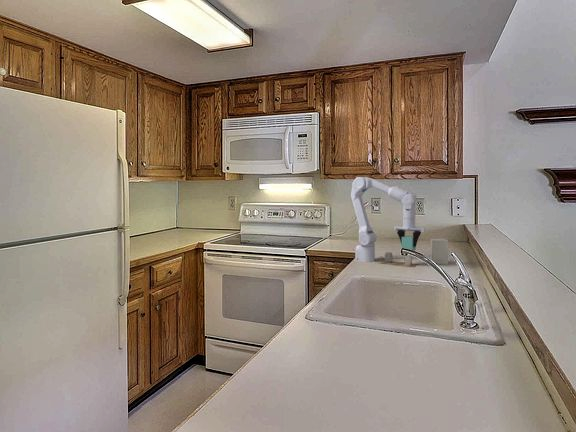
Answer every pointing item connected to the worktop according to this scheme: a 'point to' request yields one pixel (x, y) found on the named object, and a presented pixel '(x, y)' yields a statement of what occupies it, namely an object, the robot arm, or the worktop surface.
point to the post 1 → (388, 257)
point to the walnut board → (398, 264)
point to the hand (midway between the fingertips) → (408, 246)
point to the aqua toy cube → (408, 243)
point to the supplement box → (439, 251)
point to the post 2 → (408, 260)
